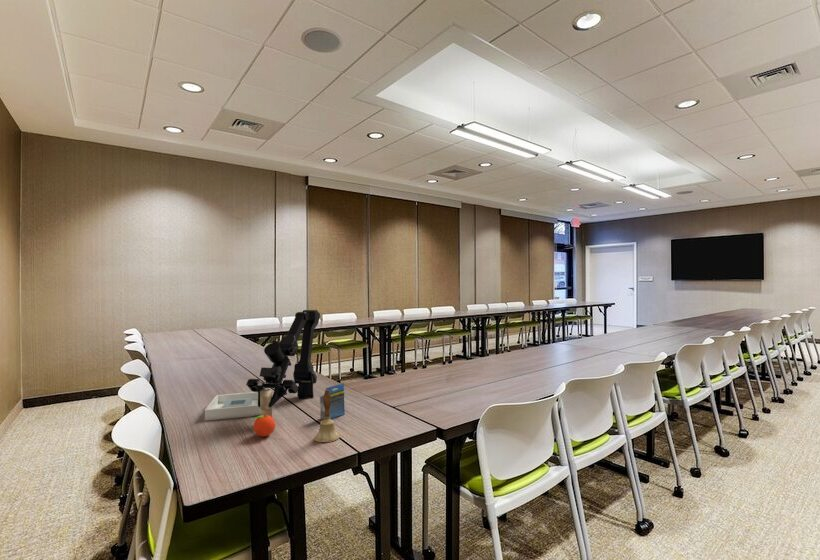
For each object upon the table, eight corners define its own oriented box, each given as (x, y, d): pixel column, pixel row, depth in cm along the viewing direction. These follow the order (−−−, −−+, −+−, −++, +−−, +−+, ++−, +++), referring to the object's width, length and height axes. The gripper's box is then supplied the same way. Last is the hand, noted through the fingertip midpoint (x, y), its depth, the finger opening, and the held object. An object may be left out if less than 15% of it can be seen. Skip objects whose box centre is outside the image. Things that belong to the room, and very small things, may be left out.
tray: (266, 400, 173) (266, 391, 173) (261, 415, 154) (260, 405, 154) (216, 404, 168) (216, 395, 168) (204, 420, 149) (204, 410, 149)
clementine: (249, 441, 129) (248, 420, 129) (251, 433, 136) (250, 413, 136) (274, 438, 131) (274, 417, 131) (275, 430, 138) (275, 410, 138)
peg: (272, 420, 148) (272, 389, 147) (271, 424, 144) (271, 391, 144) (261, 422, 146) (260, 389, 146) (260, 426, 143) (259, 392, 143)
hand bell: (329, 431, 137) (328, 385, 137) (345, 436, 132) (344, 389, 132) (309, 438, 130) (308, 390, 130) (325, 445, 125) (324, 395, 125)
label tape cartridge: (338, 412, 156) (338, 381, 156) (345, 414, 153) (344, 383, 153) (320, 418, 149) (319, 386, 149) (326, 421, 146) (325, 388, 146)
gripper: (248, 357, 150) (230, 395, 140) (293, 358, 147) (279, 396, 136) (260, 373, 158) (244, 409, 147) (303, 374, 155) (290, 411, 144)
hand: (264, 406), depth 144 cm, fingers closed on peg, 4 cm apart
